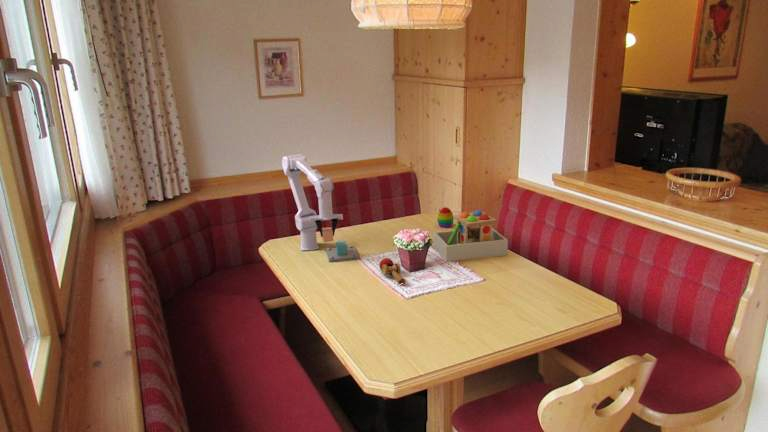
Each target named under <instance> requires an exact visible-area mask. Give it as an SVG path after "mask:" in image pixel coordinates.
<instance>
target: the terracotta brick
mask: <svg viewBox="0 0 768 432" xmlns="http://www.w3.org/2000/svg"><path fill="white" fill-rule="evenodd" d="M322 234H323V237H321V238H322V242H323V243H325V242H326V243H327V242H328V243H329V242H334V236H333V231H332V226H330V227H322Z"/></svg>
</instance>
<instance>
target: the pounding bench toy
mask: <svg viewBox="0 0 768 432" xmlns="http://www.w3.org/2000/svg"><path fill="white" fill-rule="evenodd" d="M453 218H454V220H456V222H457V223H456V225H455V227H454V229H453V230H454V231H453V230H452V231H453V233H452V235H451V237H450V239H449V241H448V243H447V245H451V244H452V242H453V240H454V238H455V236H456V234H457V244H466V243H475V242H485V241H492V240H493V239H494V238H493V237H492V228H493V224H497V218H494V217H493V216H490V215H489V214H487V213H485V212H484V211H481V209H476V210H474V211H473V212H468V211H463V212H461V213H460V214H459V213H458V214H453ZM469 232H471V233H472V234H473V235H471V236H470V237H469ZM455 245H456V244H455Z"/></svg>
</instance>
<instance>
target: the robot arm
mask: <svg viewBox="0 0 768 432" xmlns="http://www.w3.org/2000/svg"><path fill="white" fill-rule="evenodd" d="M307 161H308V160H307V157H306V156H305V155H304V153H299V154H293V155H287V156H283V157H282V160H281V166H282V169H283V173H284V176H287V178H288V182H289V186H290V188H291V191H292V194H293V198H294V201H295V203H296V207H297V210H298V211H297V213H296V214H295V215H294V221H295V226H296V229H297V230H298V231H299V232H300V250H301V252H304V251H313V250H315V251H316V250H319V249H320V248H319V245H318V239H317V229H318V231H319V234H320V238H322V237H323V234H322V228H323V227H322V226H323V225H322V222H323V221H331V228H332V231H333V237H334V236H335V232H336V231H335V230H336V228H337V226H338V224H339V220H344V215H343V213H333V202H332V201H333V200H332V191H333V190H334V188H335V187H334V185H335V184H334V181H333V180H332V179H331V178H330V177H325V176H324V175H323V174H322V173H321V172H320V171H318V169H313V168H312V166H311V165H310V164H309V163H308V162H307ZM302 173H304V174H305V175H306V178H307V180H308V182H310V183H311V184H312V185H313V186H314V190H315V191H316V196H317V199H318V211H319V214H318V215H317V213H316V210H315V209H312V208H310V206H309V202H308V199H307V197H306V193H305V191H304V187H303V183H302V181H301V178H300V176H301V174H302Z"/></svg>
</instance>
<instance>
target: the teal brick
mask: <svg viewBox="0 0 768 432" xmlns="http://www.w3.org/2000/svg"><path fill="white" fill-rule="evenodd" d="M347 247H348V244H347V242H346V240H338V241H335V248H336V252H337V255H348V254H347Z"/></svg>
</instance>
